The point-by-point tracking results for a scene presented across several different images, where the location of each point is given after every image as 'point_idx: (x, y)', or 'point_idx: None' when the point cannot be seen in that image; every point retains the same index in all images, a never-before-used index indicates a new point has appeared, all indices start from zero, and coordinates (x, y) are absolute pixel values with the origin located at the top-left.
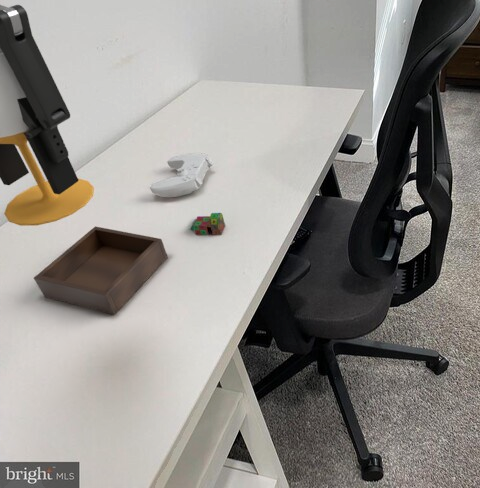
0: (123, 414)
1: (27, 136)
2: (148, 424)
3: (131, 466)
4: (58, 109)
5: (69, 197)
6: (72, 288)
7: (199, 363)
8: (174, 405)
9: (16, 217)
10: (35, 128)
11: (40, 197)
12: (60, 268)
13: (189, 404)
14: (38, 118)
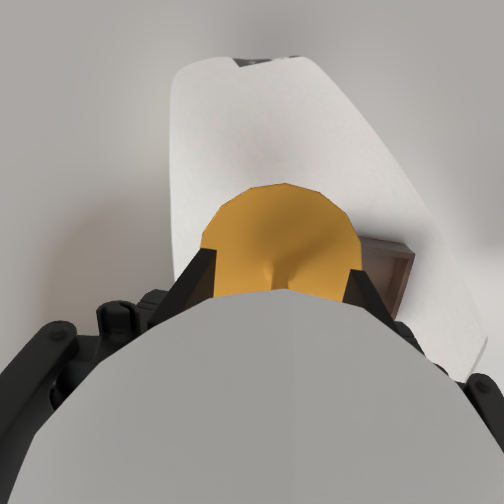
0: (226, 114)
1: (130, 304)
2: (197, 111)
3: (191, 75)
4: (56, 387)
5: (241, 278)
6: (361, 245)
7: (182, 183)
8: (183, 134)
9: (307, 202)
10: (99, 327)
11: (305, 273)
12: (398, 278)
13: (170, 139)
14: (65, 346)
